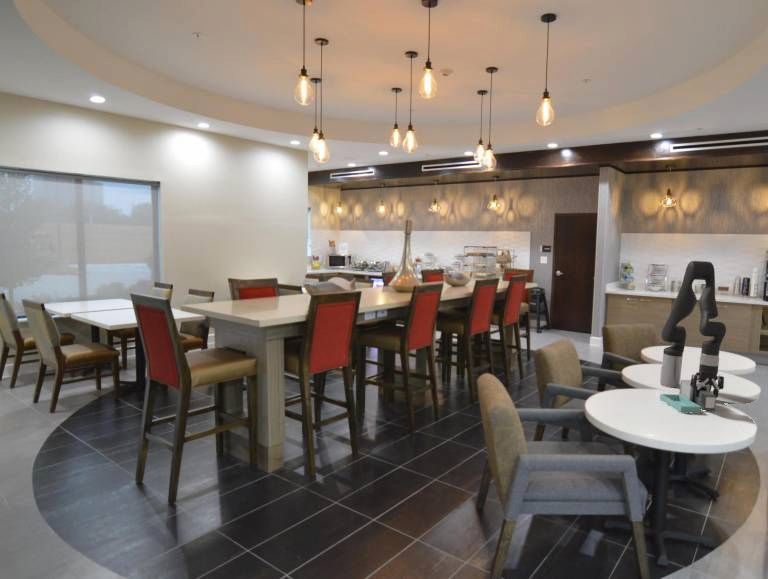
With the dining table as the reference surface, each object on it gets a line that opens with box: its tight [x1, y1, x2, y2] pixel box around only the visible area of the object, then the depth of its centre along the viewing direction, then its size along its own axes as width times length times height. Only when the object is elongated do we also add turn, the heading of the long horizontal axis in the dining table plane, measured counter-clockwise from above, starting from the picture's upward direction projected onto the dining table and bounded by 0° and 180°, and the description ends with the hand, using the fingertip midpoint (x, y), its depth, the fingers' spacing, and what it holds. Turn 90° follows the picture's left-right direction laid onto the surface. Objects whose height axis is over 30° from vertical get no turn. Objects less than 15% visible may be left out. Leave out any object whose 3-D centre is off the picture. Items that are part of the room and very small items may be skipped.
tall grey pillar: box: [692, 388, 717, 412], centre depth 245 cm, size 13×5×8 cm, turn 0°
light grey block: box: [678, 379, 711, 401], centre depth 250 cm, size 9×9×10 cm
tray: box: [659, 393, 702, 414], centre depth 245 cm, size 18×9×3 cm, turn 0°
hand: (705, 397), depth 241 cm, fingers open, 8 cm apart
